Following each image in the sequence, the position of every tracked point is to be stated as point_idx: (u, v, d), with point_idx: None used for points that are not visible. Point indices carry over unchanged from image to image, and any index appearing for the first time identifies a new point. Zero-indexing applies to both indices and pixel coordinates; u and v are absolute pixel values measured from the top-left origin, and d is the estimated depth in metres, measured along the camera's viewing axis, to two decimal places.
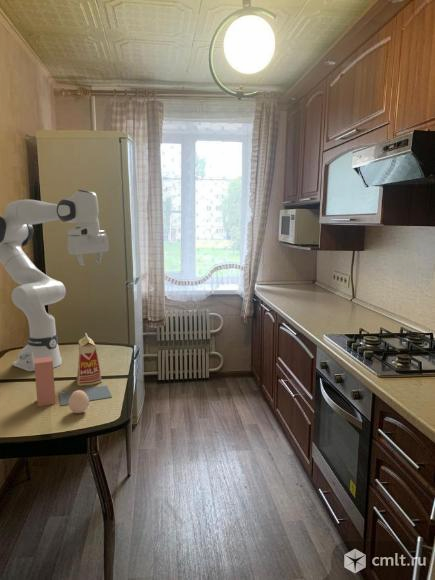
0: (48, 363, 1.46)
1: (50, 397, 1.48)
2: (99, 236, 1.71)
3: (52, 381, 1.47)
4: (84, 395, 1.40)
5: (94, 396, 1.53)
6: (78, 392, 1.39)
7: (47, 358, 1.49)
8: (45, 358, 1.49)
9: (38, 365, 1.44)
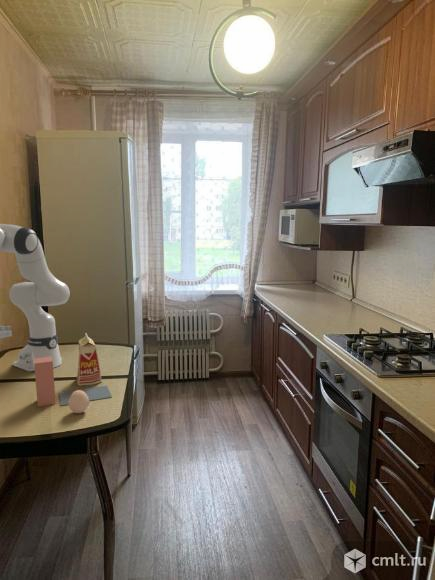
0: (48, 363, 1.46)
1: (50, 397, 1.48)
2: None
3: (52, 381, 1.47)
4: (84, 395, 1.40)
5: (94, 396, 1.53)
6: (78, 392, 1.39)
7: (47, 358, 1.49)
8: (45, 358, 1.49)
9: (38, 365, 1.44)
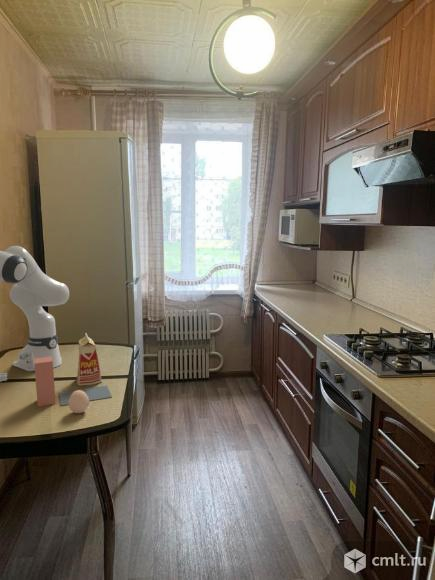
0: (48, 363, 1.46)
1: (50, 397, 1.48)
2: None
3: (52, 381, 1.47)
4: (84, 395, 1.40)
5: (94, 396, 1.53)
6: (78, 392, 1.39)
7: (47, 358, 1.49)
8: (45, 358, 1.49)
9: (38, 365, 1.44)
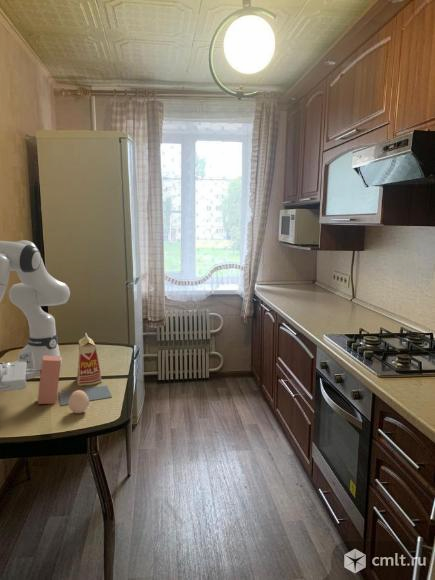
0: (56, 362, 1.47)
1: (51, 396, 1.48)
2: None
3: (56, 380, 1.48)
4: (84, 395, 1.40)
5: (94, 396, 1.53)
6: (78, 392, 1.39)
7: (55, 357, 1.50)
8: (53, 357, 1.50)
9: (46, 362, 1.45)
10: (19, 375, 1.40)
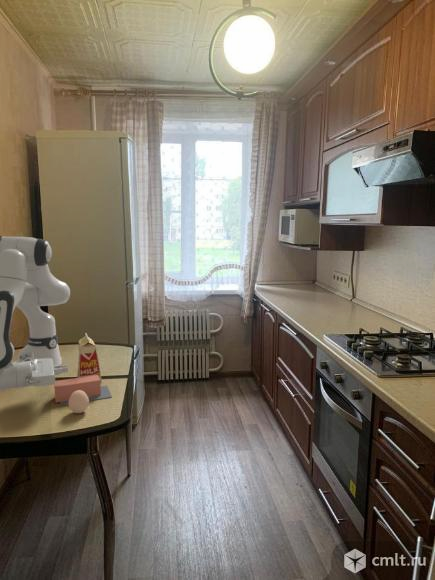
0: (99, 391, 1.54)
1: (62, 396, 1.49)
2: None
3: None
4: (84, 395, 1.40)
5: (94, 396, 1.53)
6: (78, 392, 1.39)
7: None
8: None
9: (98, 383, 1.54)
10: (48, 371, 1.44)
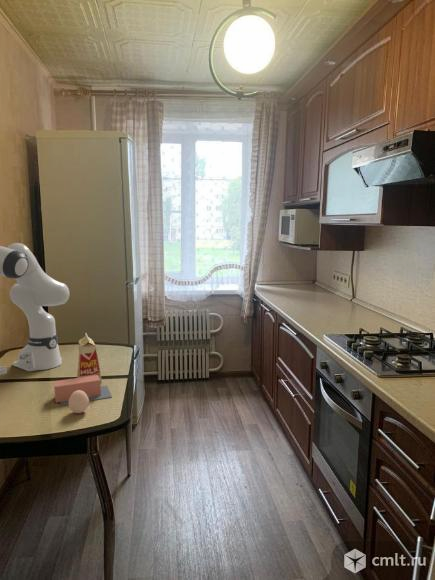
0: (99, 391, 1.54)
1: (62, 396, 1.49)
2: None
3: None
4: (84, 395, 1.40)
5: (94, 396, 1.53)
6: (78, 392, 1.39)
7: None
8: None
9: (98, 383, 1.54)
10: None
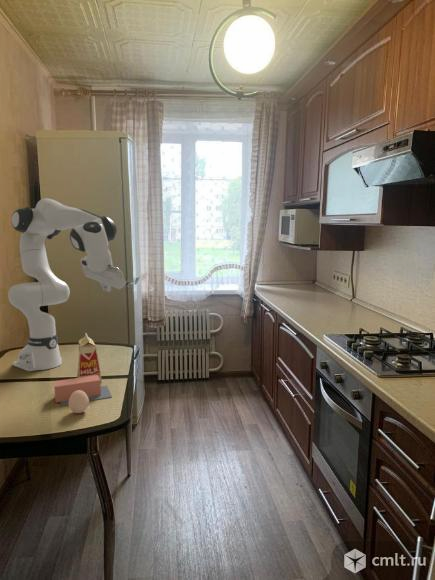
0: (99, 391, 1.54)
1: (62, 396, 1.49)
2: (106, 272, 1.60)
3: None
4: (84, 395, 1.40)
5: (94, 396, 1.53)
6: (78, 392, 1.39)
7: None
8: None
9: (98, 383, 1.54)
10: None
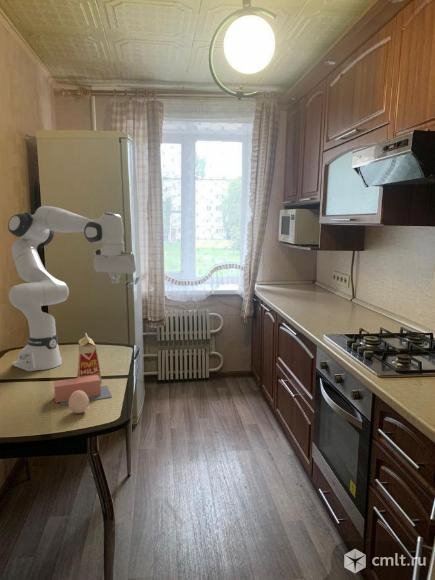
0: (99, 391, 1.54)
1: (62, 396, 1.49)
2: (119, 258, 1.73)
3: None
4: (84, 395, 1.40)
5: (94, 396, 1.53)
6: (78, 392, 1.39)
7: None
8: None
9: (98, 383, 1.54)
10: None
